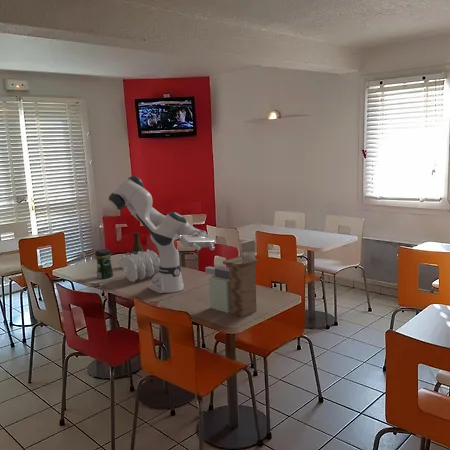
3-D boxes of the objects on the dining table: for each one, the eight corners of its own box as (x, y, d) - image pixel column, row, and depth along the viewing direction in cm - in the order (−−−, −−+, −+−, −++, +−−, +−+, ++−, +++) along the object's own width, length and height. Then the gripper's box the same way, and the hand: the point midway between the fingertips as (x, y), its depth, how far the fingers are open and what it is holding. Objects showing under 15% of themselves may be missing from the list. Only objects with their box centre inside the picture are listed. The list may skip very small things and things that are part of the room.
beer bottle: (131, 267, 322) (128, 233, 317) (136, 264, 329) (134, 231, 325) (140, 267, 319) (138, 233, 315) (146, 265, 326) (144, 231, 322)
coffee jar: (108, 274, 305) (106, 247, 302) (114, 276, 300) (112, 248, 296) (95, 277, 299) (92, 249, 296) (101, 280, 293) (98, 251, 290)
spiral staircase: (162, 281, 299) (129, 289, 281) (146, 266, 309) (114, 272, 291) (169, 258, 291) (136, 264, 273) (153, 243, 301) (120, 248, 283)
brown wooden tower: (225, 312, 228) (222, 240, 221) (241, 305, 236) (238, 236, 230) (243, 317, 219) (240, 243, 213) (259, 310, 228) (257, 239, 222)
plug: (204, 273, 240) (203, 266, 239) (210, 271, 243) (210, 264, 242) (229, 279, 227) (229, 271, 227) (236, 277, 231) (235, 269, 230)
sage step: (210, 307, 235) (208, 277, 232) (226, 301, 243) (225, 272, 241) (227, 312, 227) (225, 281, 224) (243, 306, 235) (242, 275, 232)
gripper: (177, 230, 235) (193, 244, 227) (207, 230, 250) (222, 243, 241) (173, 241, 237) (189, 255, 229) (203, 240, 252) (218, 254, 243)
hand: (206, 249), depth 235 cm, fingers open, 8 cm apart
